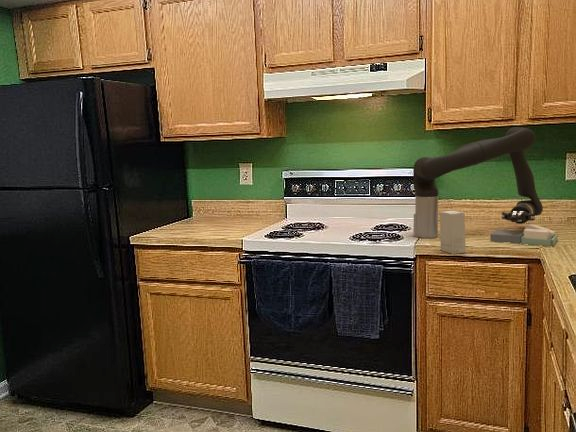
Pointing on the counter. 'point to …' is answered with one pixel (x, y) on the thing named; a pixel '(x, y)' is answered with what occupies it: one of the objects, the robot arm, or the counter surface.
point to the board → (506, 236)
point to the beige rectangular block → (533, 226)
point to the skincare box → (452, 231)
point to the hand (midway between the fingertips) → (513, 219)
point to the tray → (539, 241)
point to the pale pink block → (536, 234)
